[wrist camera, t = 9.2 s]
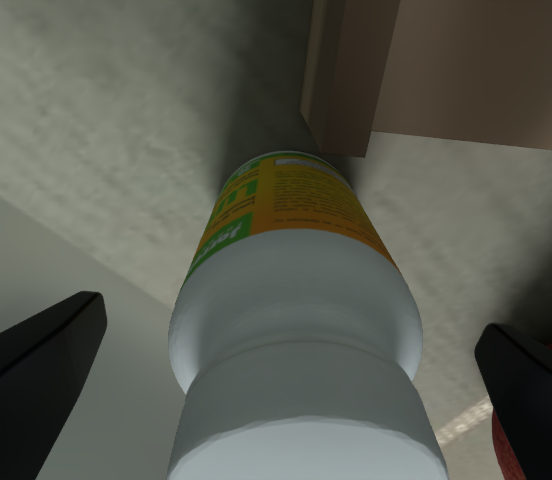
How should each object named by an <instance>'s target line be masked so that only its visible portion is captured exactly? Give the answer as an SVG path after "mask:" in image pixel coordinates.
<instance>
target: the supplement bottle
mask: <svg viewBox="0 0 552 480" xmlns="http://www.w3.org/2000/svg"><path fill="white" fill-rule="evenodd" d="M422 346H423V330H422V323H421V318H420V314H419V311H418V308H417V305H416V302H415V300H414V298H413V296H412V294H411V292H410V290H409V287H408V285H407V283H406V282H405V280H404V278H403V276H402V274H401V273H400V271H399V269H398V267H397V266H396V264H395V262H394V261H393V259H392V257H391V256H390V254H389V252H388V251H387V249H386V247H385V246H384V244H383V242H382V240H381V239H380V237H379V235H378V233H377V232H376V230H375V228H374V227H373V225H372V223H371V221H370V220H369V218H368V216H367V215H366V213H365V211H364V209H363V208H362V206H361V204H360V202H359V201H358V199H357V197H356V195H355V194H354V192H353V190H352V188H351V187H350V185H349V184H348V182H347V181H346V179H345V178H344V177H343V176H342V174H341V173H340V172H339V171H338V170H337V169H335V168H334V167H333V166H332V165H330V164H329V163H328V162H326V161H324V160H322V159H321V158H319V157H317V156H314V155H311V154H308V153H304V152H299V151H275V152H270V153H266V154H263V155H260V156H258V157H255V158H253V159H251V160H249V161H248V162H246V163H245V164H243V165H242V166H241V167H240V168H238V169H237V170H236V171H235V172H234V173H233V174H232V175H231V176H230V178H229V179H228V180H227V182H226V183H225V185H224V187H223V188H222V190H221V192H220V194H219V196H218V199H217V201H216V204H215V206H214V209H213V211H212V214H211V216H210V219H209V221H208V224H207V226H206V229H205V231H204V233H203V236H202V238H201V240H200V243H199V246H198V248H197V251H196V253H195V256H194V258H193V261H192V263H191V266H190V268H189V271H188V273H187V276H186V278H185V281H184V283H183V285H182V287H181V290H180V292H179V295H178V298H177V300H176V303H175V308H174V310H173V313H172V317H171V321H170V326H169V333H168V349H169V357H170V361H171V365H172V369H173V371H174V374H175V376H176V379H177V381H178V383H179V384H180V386H181V388H182V389H183V391H184V392H185V394H186V399H185V405H184V408H183V410H182V414H181V418H180V421H179V425H178V429H177V432H176V436H175V441H174V445H173V449H172V453H171V457H170V462H169V466H168V471H167V475H166V480H449V474H448V470H447V466H446V462H445V460H444V457H443V455H442V452H441V450H440V447H439V445H438V442H437V440H436V437H435V435H434V432H433V430H432V427H431V425H430V422H429V420H428V417H427V414H426V411H425V408H424V405H423V402H422V400H421V398H420V396H419V394H418V391H417V390H416V389H415V387H414V386H413V384H412V380H413V378H414V376H415V373H416V371H417V369H418V366H419V362H420V358H421V353H422Z"/></svg>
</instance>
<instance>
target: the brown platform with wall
mask: <svg viewBox="0 0 552 480" xmlns="http://www.w3.org/2000/svg"><path fill="white" fill-rule="evenodd" d="M299 109H300V111H301V113H302V115H303V117H304V119H305V121H306V123H307V125H308V127H309V129H310V131H311V133H312V135H313V138H314V140H315V142H316V144H317V146H318V148H319V150H320V152H321V153H324V154H334V155H344V156H353V157H363V158H365V155H366V151H367V147H368V142H369V138H370V133H371V131H376V132H386V133H395V134H404V135H414V136H423V137H433V138H442V139H452V140H461V141H471V142H480V143H490V144H499V145H508V146H518V147H527V148H537V149H546V150H552V0H313V5H312V13H311V21H310V29H309V37H308V45H307V53H306V61H305V69H304V76H303V84H302V92H301V100H300V108H299Z"/></svg>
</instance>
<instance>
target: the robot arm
mask: <svg viewBox="0 0 552 480" xmlns="http://www.w3.org/2000/svg"><path fill="white" fill-rule="evenodd" d="M106 327H107V316H106V310H105V304H104V299H103V296H102V294H101V293H99V292H91V291H80V292H78V293H76V294H74V295H72V296H71V297H69V298H67V299H65V300H63V301H61V302H59V303H57V304H55V305H53V306H51V307H49V308H47V309H45V310H43V311H41V312H40V313H38V314H36V315H34V316H32V317H30V318H28V319H26V320H24V321H22V322H21V323H18V324H17V325H14V326H13V327H11V328H9V329H7V330H5V331H3V332H1V333H0V480H35V479H36V477H37V476H38V473H39V472H40V470H41V468H42V466H43V464H44V462H45V460H46V459H47V457H48V455H49V453H50V451H51V449H52V447H53V445H54V443H55V441H56V440H57V438H58V436H59V434H60V432H61V430H62V428H63V426H64V424H65V422H66V421H67V419H68V417H69V415H70V413H71V411H72V409H73V407H74V405H75V403H76V401H77V399H78V397H79V395H80V393H81V391H82V389H83V386H84V384H85V382H86V379H87V377H88V374H89V372H90V369H91V366H92V364H93V362H94V359H95V357H96V354H97V352H98V349H99V346H100V344H101V341H102V339H103V336H104V334H105V331H106ZM474 354H475V359H476V362H477V364H478V367H479V370H480V373H481V375H482V378H483V381H484V383H485V386H486V389H487V392H488V394H489V397H490V400H491V403H492V405H493V408H494V411H495V413H496V416H497V418H498V421H499V423H500V425H501V427H502V430H503V432H504V434H505V436H506V438H507V440H508V442H509V444H510V447H511V449H512V451H513V453H514V455H515V457H516V459H517V461H518V463H519V465H520V467H521V470H522V472H523V474H524V476H525V478H526V480H552V350H551V349H549V348H548V347H546V346H544V345H543V344H541V343H539V342H537V341H536V340H534V339H532V338H531V337H529V336H527V335H526V334H524V333H522V332H521V331H519V330H517V329H516V328H514V327H512V326H510V325H508V324H500V323H490V324H488V325H487V326H486V327H485V329H484V331H483V333H482V335H481V337H480V339H479V341H478V343H477V345H476V347H475V351H474Z"/></svg>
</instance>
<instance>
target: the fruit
mask: <svg viewBox="0 0 552 480" xmlns="http://www.w3.org/2000/svg"><path fill="white" fill-rule="evenodd" d="M546 347H548V348H549V349H551V350H552V342H551V343H550V344H548V345H546ZM492 438H493V445H494V450H495V453H496V456H497V459H498V464H499V466H500V468H501V471H502V473H503V476H504V479H505V480H526V478H525V476H524V474H523V472H522V470H521V467H520V465H519V463H518V461H517V459H516V457H515V455H514V453H513V451H512V449H511V447H510V444H509V442H508V440H507V438H506V436H505V434H504V432H503V430H502V427H501V425H500V423H499V421H498V418H497V416H496V413H495V411H494V408H493V413H492Z"/></svg>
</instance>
